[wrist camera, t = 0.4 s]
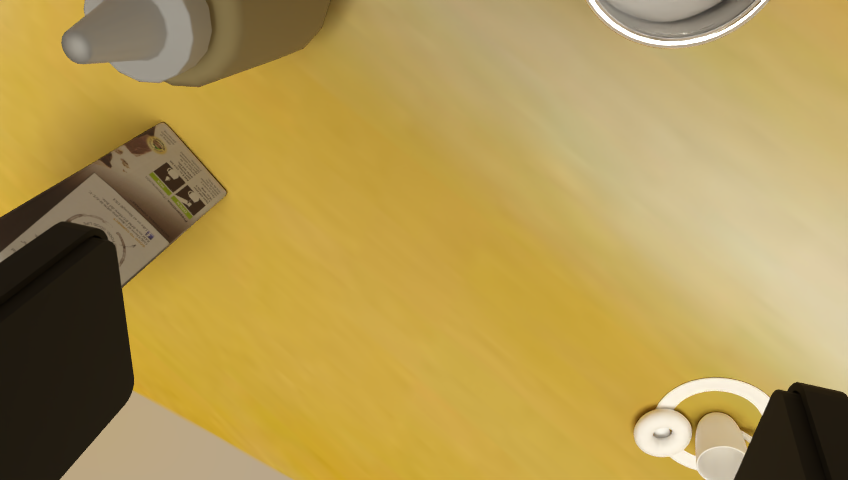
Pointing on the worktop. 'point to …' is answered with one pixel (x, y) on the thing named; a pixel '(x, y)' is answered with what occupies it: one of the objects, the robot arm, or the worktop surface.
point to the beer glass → (675, 19)
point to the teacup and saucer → (699, 430)
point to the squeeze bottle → (191, 36)
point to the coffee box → (124, 200)
